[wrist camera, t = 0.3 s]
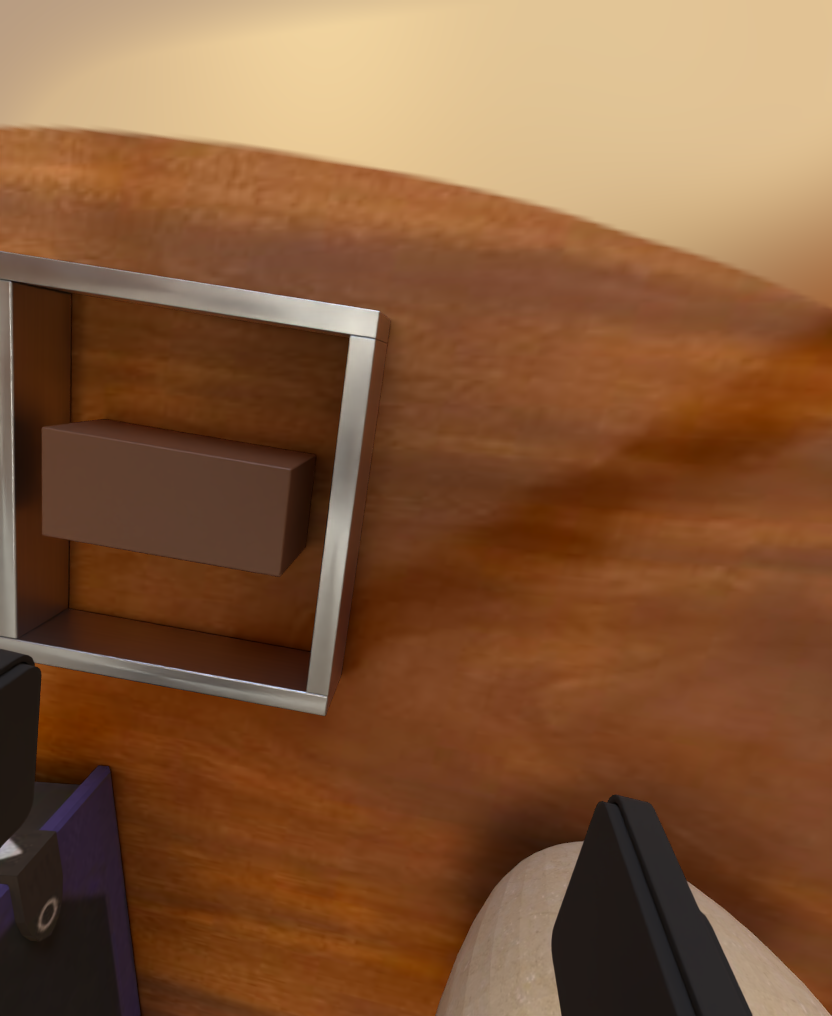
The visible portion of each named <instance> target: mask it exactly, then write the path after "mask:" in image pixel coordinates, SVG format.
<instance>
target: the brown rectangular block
mask: <svg viewBox="0 0 832 1016" xmlns="http://www.w3.org/2000/svg"><path fill="white" fill-rule="evenodd" d="M315 461H316V455H315V454H309V453H303V452H297V451H291V450H285V449H279V448H273V447H267V446H261V445H255V444H249V443H243V442H237V441H232V440H226V439H220V438H214V437H208V436H202V435H196V434H190V433H184V432H178V431H172V430H166V429H160V428H154V427H148V426H142V425H136V424H130V423H124V422H118V421H112V420H106V419H100V420H92V421H84V422H77V423H69V424H62V425H54V426H47V427H42V535H43V536H49V537H55V538H60V539H66V540H72V541H77V542H83V543H89V544H95V545H100V546H106V547H112V548H117V549H123V550H129V551H134V552H140V553H146V554H151V555H157V556H163V557H169V558H174V559H180V560H186V561H191V562H197V563H203V564H208V565H214V566H220V567H225V568H231V569H237V570H243V571H248V572H254V573H260V574H265V575H271V576H277V577H280V576H281V575H282V574H283V573H284V572H285V570H286V569H287V568H288V567H289V566H290V565H291V564H292V562H293V561H294V560H295V559H296V558H297V557H298V556H299V554H300V553H301V552H302V551H303V550H304V549H305V547H306V539H307V531H308V522H309V513H310V504H311V496H312V487H313V478H314V470H315Z"/></svg>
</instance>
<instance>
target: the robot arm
mask: <svg viewBox="0 0 832 1016" xmlns="http://www.w3.org/2000/svg"><path fill="white" fill-rule="evenodd" d="M40 689H41V671H40V669H39V668H38V667H35V664H34V660H33V658H32V657H30V656H29V655H25V654H21V653H17V652H13V651H8V650H4V649H0V848H1V847H2V846H3V845H4V844H5V843H6V841H7V840H8V839H9V838H10V837H11V836H12V835H13V834H14V833H15V832H16V831H17V830H18V829H19V828H20V827H21V825H22V824H23V823H24V822H25V820H26V818H27V817H28V815H29V813H30V811H31V808H32V805H33V800H34V786H35V770H36V754H37V738H38V722H39V705H40ZM551 952H552V960H553V966H554V972H555V979H556V985H557V991H558V997H559V1003H560V1009H561V1016H753V1015H752V1012H751V1010H750V1008H749V1006H748V1004H747V1002H746V999H745V997H744V995H743V993H742V991H741V989H740V986H739V984H738V982H737V980H736V978H735V975H734V973H733V971H732V969H731V967H730V965H729V962H728V960H727V958H726V956H725V954H724V951H723V949H722V947H721V945H720V943H719V941H718V938H717V936H716V934H715V932H714V930H713V927H712V926H711V924H710V922H709V920H708V919H707V917H706V915H705V914H703V913H702V912H701V911H700V910H699V907H698V905H697V903H696V901H695V899H694V896H693V894H692V892H691V890H690V887H689V885H688V883H687V881H686V878H685V876H684V874H683V872H682V870H681V867H680V865H679V863H678V861H677V858H676V856H675V854H674V852H673V850H672V847H671V845H670V843H669V841H668V838H667V836H666V834H665V832H664V830H663V827H662V825H661V823H660V821H659V818H658V816H657V814H656V812H655V810H654V808H653V806H652V805H651V804H650V803H648V802H644V801H640V800H636V799H632V798H628V797H623V796H619V795H612V796H611V797H610V798H609V800H608V802H603V801H601V802H599V803H598V804H597V806H596V808H595V811H594V814H593V817H592V820H591V822H590V825H589V828H588V831H587V834H586V837H585V839H584V842H583V845H582V848H581V851H580V853H579V856H578V859H577V862H576V865H575V867H574V870H573V873H572V876H571V879H570V882H569V884H568V887H567V890H566V893H565V896H564V898H563V901H562V904H561V907H560V910H559V913H558V915H557V918H556V921H555V924H554V927H553V931H552V939H551Z"/></svg>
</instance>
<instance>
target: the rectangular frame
mask: <svg viewBox="0 0 832 1016" xmlns="http://www.w3.org/2000/svg"><path fill="white" fill-rule="evenodd" d="M70 293H74V294H81V295H87V296H93V297H99V298H105V299H112V300H118V301H124V302H130V303H137V304H143V305H149V306H155V307H162V308H168V309H174V310H180V311H187V312H193V313H199V314H205V315H211V316H218V317H224V318H230V319H236V320H243V321H249V322H255V323H261V324H268V325H274V326H280V327H286V328H292V329H299V330H305V331H311V332H317V333H324V334H330V335H336V336H342V337H349V346H348V354H347V362H346V371H345V379H344V387H343V395H342V403H341V411H340V419H339V427H338V436H337V444H336V452H335V460H334V468H333V476H332V484H331V492H330V501H329V509H328V517H327V525H326V533H325V541H324V549H323V557H322V566H321V574H320V582H319V590H318V598H317V606H316V614H315V622H314V631H313V639H312V647H311V652H307V651H302V650H296V649H290V648H285V647H279V646H274V645H268V644H263V643H257V642H252V641H246V640H240V639H235V638H229V637H224V636H218V635H213V634H207V633H202V632H196V631H190V630H185V629H179V628H174V627H168V626H163V625H157V624H152V623H146V622H140V621H135V620H129V619H124V618H118V617H113V616H107V615H101V614H96V613H90V612H85V611H79V610H74V609H68V594H69V540H66V539H60V538H55V537H49V536H43V535H42V427H47V426H54V425H62V424H69V423H70V379H71V294H70ZM390 322H391V320H390V319H389V318H387V317H386V316H385V315H384V314H382V313H381V312H380V311H376V310H370V309H364V308H357V307H351V306H345V305H338V304H332V303H326V302H319V301H313V300H307V299H300V298H294V297H288V296H282V295H275V294H269V293H263V292H256V291H250V290H244V289H237V288H231V287H225V286H218V285H212V284H206V283H200V282H193V281H187V280H181V279H174V278H168V277H162V276H155V275H149V274H143V273H136V272H130V271H124V270H118V269H111V268H105V267H99V266H92V265H86V264H80V263H73V262H67V261H61V260H54V259H48V258H42V257H36V256H29V255H23V254H17V253H10V252H4V251H0V649H4V650H8V651H13V652H17V653H21V654H25V655H29V656H30V657H32V658H33V660H34V663H39V664H44V665H50V666H55V667H61V668H66V669H72V670H77V671H83V672H88V673H93V674H99V675H104V676H110V677H115V678H121V679H126V680H132V681H137V682H142V683H148V684H153V685H159V686H164V687H170V688H175V689H181V690H186V691H191V692H197V693H202V694H208V695H213V696H219V697H224V698H230V699H235V700H240V701H246V702H251V703H257V704H262V705H268V706H273V707H279V708H284V709H290V710H295V711H300V712H306V713H311V714H317V715H322V716H325V715H326V713H327V711H328V708H329V706H330V703H331V701H332V698H333V695H334V693H335V690H336V688H337V685H338V683H339V680H340V677H341V675H342V667H343V658H344V653H345V646H346V639H347V632H348V625H349V617H350V610H351V603H352V596H353V589H354V581H355V574H356V567H357V560H358V553H359V545H360V538H361V531H362V524H363V517H364V509H365V502H366V495H367V488H368V481H369V473H370V466H371V459H372V452H373V445H374V437H375V430H376V423H377V416H378V409H379V401H380V394H381V387H382V380H383V373H384V365H385V358H386V351H387V343H388V337H389V330H390Z"/></svg>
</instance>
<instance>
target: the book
mask: <svg viewBox="0 0 832 1016" xmlns="http://www.w3.org/2000/svg"><path fill="white" fill-rule="evenodd" d="M0 1016H141V1013H140V1005H139V997H138V989H137V981H136V973H135V965H134V957H133V949H132V941H131V933H130V925H129V917H128V909H127V901H126V893H125V885H124V877H123V869H122V860H121V852H120V844H119V836H118V828H117V820H116V812H115V804H114V796H113V788H112V780H111V772H110V769H109V766H98V767H97V768H96V769H95V770H94V771H93V772H92V773H91V774H90V775H89V776H88V777H87V778H86V779H85V780H84V782H83V783H82V784H81V785H76V784H61V783H46V782H35V786H34V800H33V805H32V808H31V811H30V813H29V815H28V817H27V818H26V820H25V822H24V823H23V824H22V825H21V827H20V828H19V829H18V830H17V831H16V832H15V833H14V834H13V835H12V836H11V837H10V838H9V839H8V840H7V841H6V843H5V844H4V845H3V846H2V847H1V848H0Z"/></svg>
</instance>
